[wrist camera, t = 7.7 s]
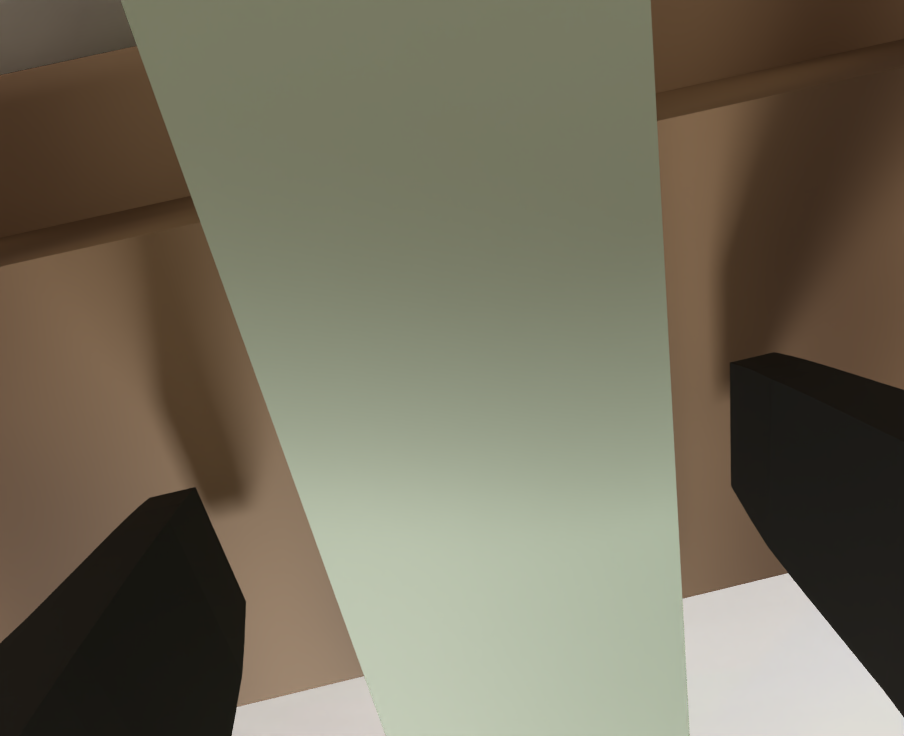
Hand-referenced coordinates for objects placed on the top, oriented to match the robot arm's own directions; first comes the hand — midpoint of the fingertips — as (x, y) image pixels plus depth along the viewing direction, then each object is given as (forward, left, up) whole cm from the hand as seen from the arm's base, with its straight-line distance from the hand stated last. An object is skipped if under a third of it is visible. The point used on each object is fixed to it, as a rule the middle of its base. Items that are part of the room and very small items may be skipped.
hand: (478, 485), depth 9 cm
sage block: (0, 0, -3) cm, 3 cm away
